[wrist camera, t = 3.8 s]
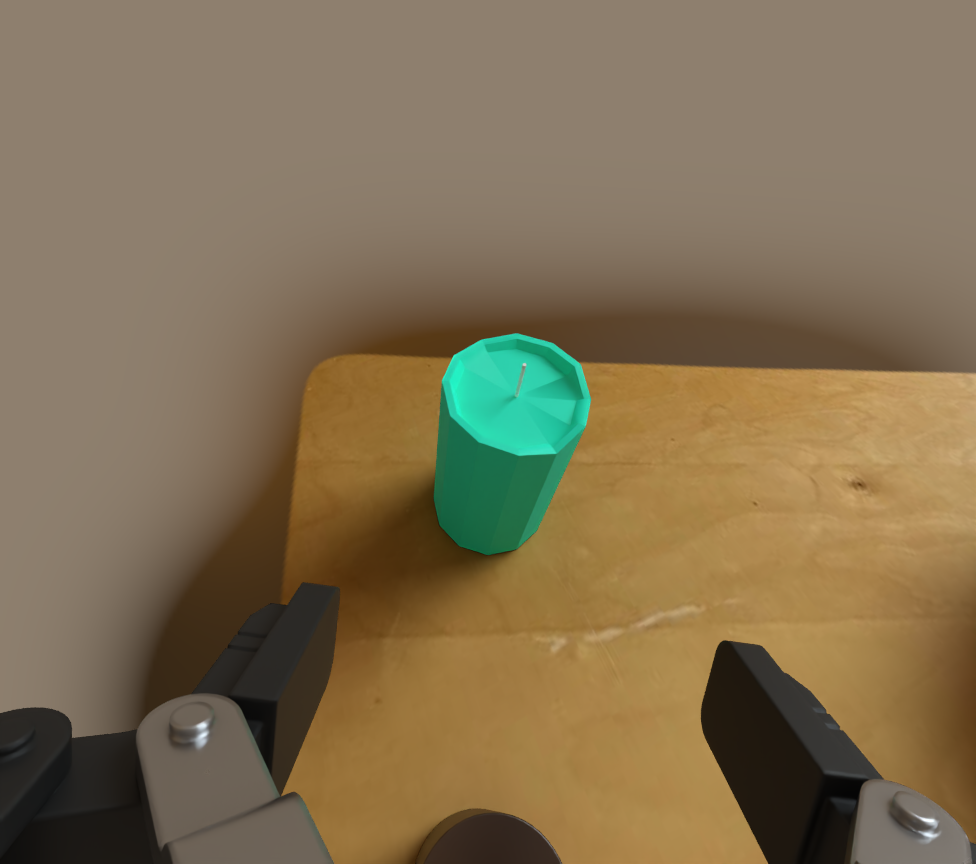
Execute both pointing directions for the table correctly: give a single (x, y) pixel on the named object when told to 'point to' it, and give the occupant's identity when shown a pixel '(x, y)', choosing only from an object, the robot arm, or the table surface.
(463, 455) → the candle
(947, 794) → the table surface
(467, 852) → the walnut post
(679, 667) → the table surface
